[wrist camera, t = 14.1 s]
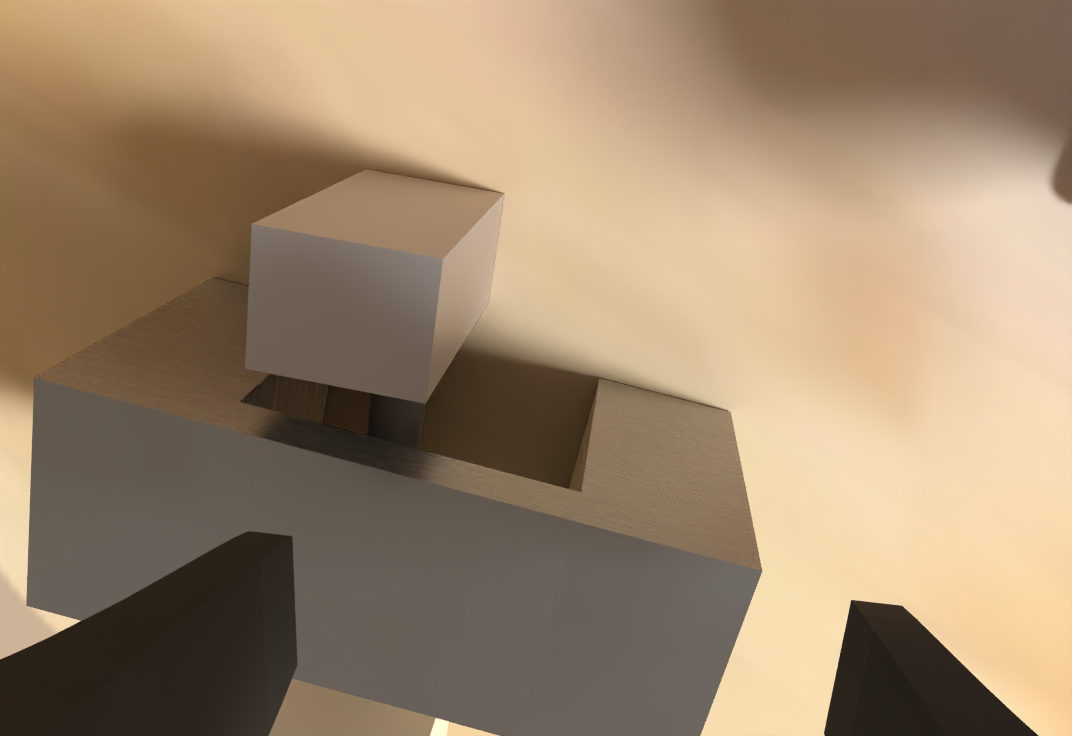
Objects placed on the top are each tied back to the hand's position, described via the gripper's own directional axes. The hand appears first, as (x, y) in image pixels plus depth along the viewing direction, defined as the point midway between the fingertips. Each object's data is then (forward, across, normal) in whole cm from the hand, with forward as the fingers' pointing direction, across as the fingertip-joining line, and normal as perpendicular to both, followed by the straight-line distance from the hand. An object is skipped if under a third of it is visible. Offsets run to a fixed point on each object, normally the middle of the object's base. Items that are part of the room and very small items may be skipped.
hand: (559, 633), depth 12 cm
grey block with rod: (+9, +5, +4) cm, 11 cm away
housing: (+9, +3, +2) cm, 10 cm away
